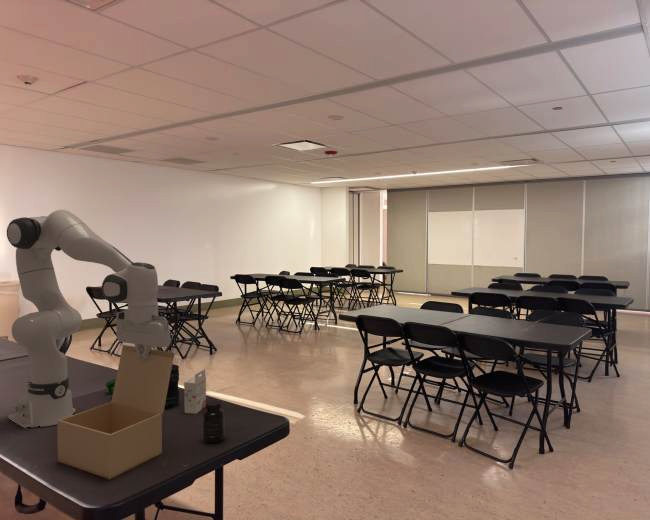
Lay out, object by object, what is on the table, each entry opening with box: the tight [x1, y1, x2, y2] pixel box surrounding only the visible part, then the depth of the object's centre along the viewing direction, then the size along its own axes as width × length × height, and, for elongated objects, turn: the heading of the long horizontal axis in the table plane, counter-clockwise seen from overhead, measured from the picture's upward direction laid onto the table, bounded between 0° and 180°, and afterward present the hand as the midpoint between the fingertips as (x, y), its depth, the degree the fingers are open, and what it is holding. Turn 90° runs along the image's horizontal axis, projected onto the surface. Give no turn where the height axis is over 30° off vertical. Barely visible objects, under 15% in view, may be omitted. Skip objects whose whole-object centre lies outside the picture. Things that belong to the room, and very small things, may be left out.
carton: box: [56, 401, 163, 480], centre depth 138 cm, size 22×18×12 cm
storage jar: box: [164, 363, 180, 411], centre depth 182 cm, size 10×10×15 cm
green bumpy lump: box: [105, 378, 116, 396], centre depth 194 cm, size 12×6×9 cm, turn 36°
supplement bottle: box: [202, 400, 225, 444], centre depth 151 cm, size 7×7×12 cm
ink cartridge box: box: [183, 369, 207, 415], centre depth 178 cm, size 9×5×15 cm, turn 168°
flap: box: [110, 344, 175, 414], centre depth 148 cm, size 22×18×1 cm
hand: (143, 358), depth 148 cm, fingers closed, pressing on flap
